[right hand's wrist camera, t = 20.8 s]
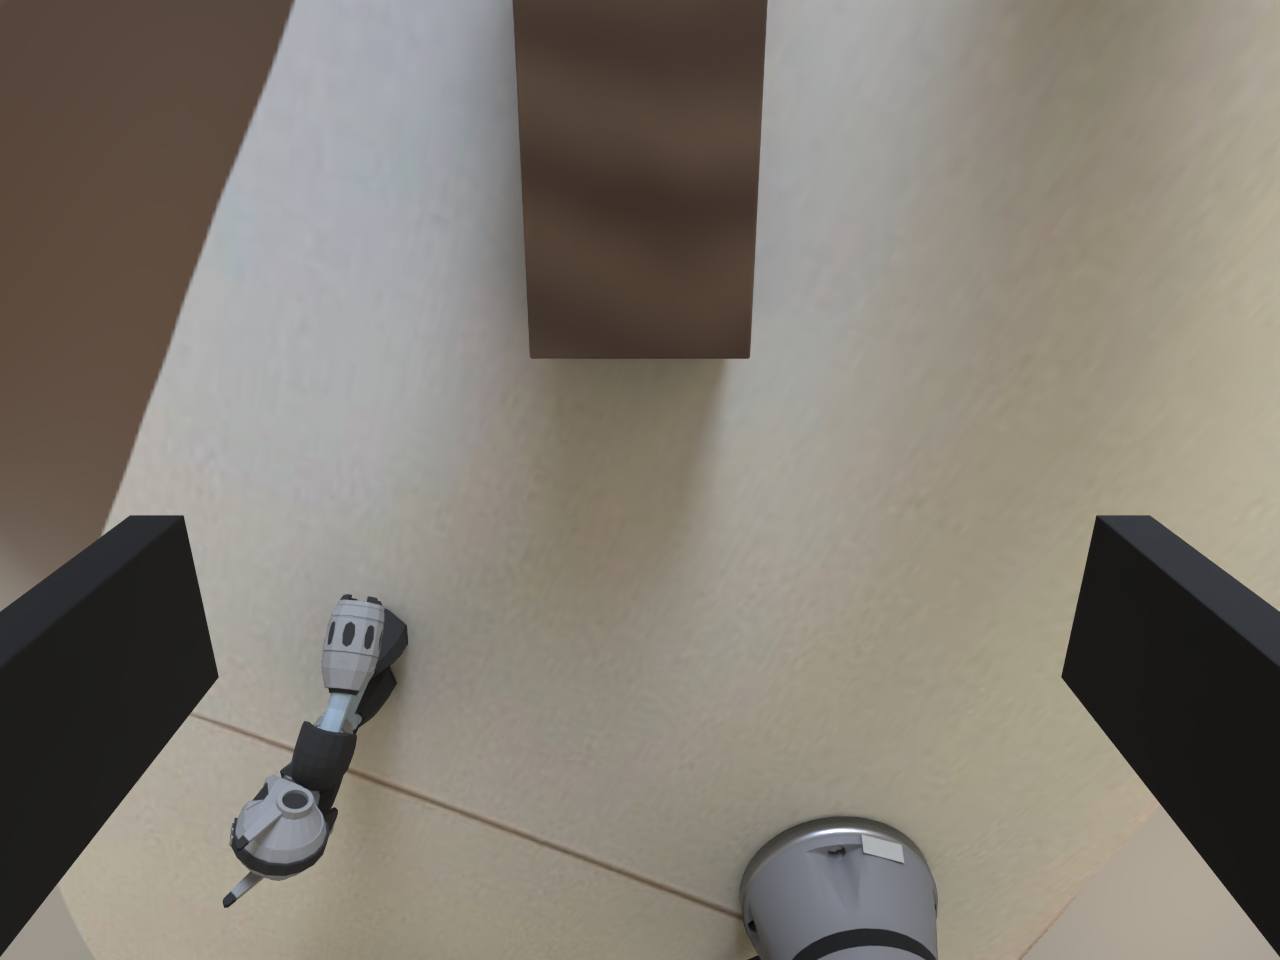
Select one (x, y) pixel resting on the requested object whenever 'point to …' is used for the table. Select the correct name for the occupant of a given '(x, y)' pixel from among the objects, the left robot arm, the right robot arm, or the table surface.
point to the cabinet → (640, 174)
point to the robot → (320, 748)
